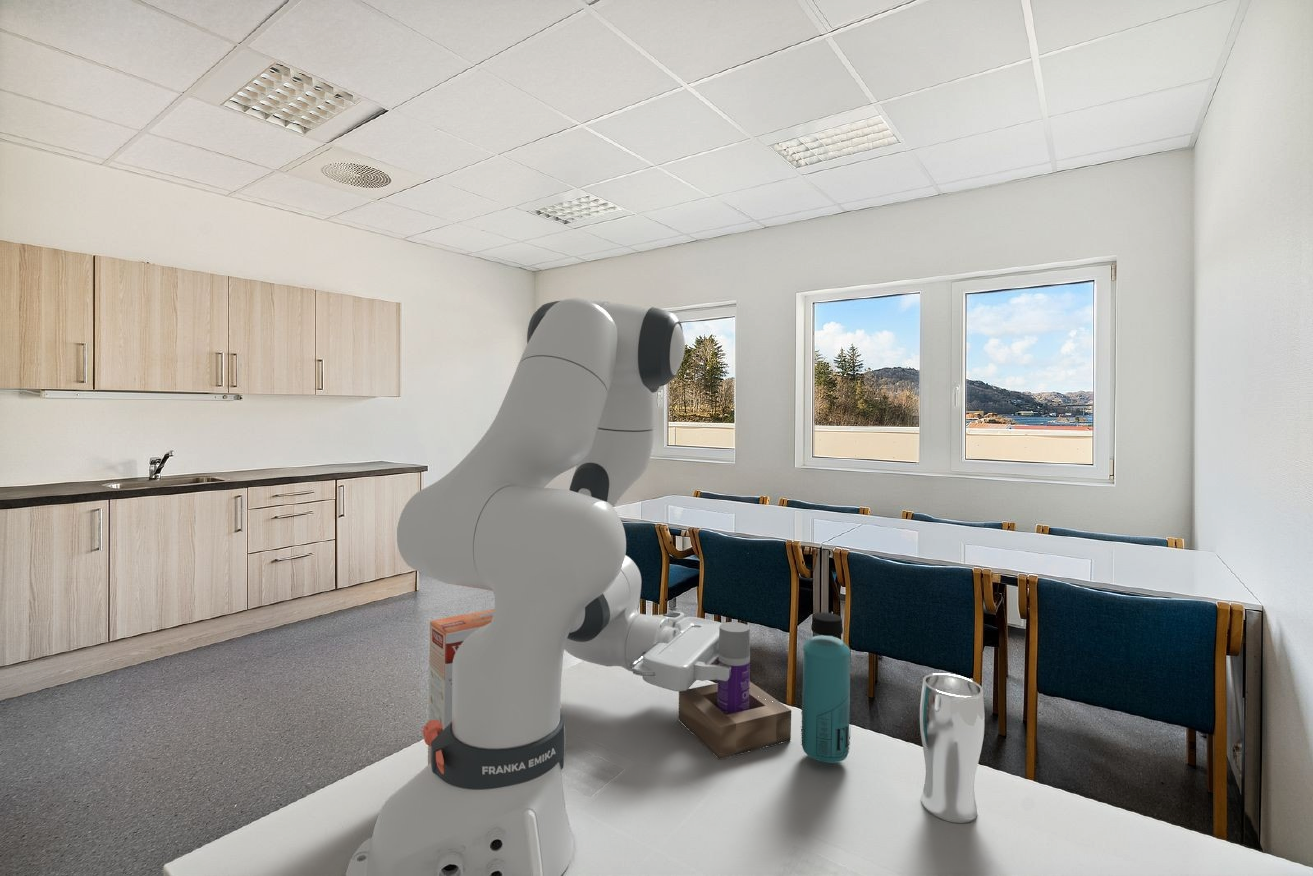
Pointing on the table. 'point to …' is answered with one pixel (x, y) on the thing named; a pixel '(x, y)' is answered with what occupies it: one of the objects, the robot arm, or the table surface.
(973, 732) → the beer glass
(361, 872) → the robot arm
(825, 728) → the beverage bottle
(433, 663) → the cracker box
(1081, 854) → the table surface
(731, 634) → the container
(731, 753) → the socket block
